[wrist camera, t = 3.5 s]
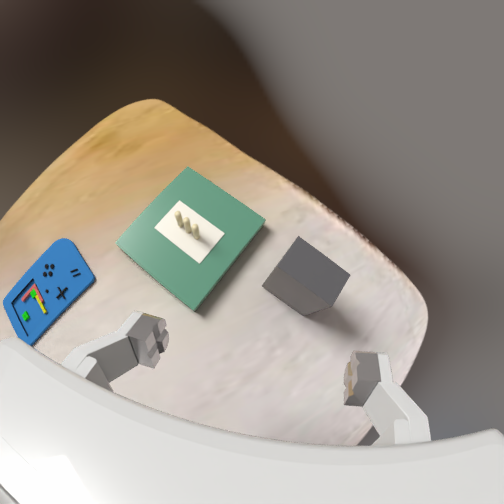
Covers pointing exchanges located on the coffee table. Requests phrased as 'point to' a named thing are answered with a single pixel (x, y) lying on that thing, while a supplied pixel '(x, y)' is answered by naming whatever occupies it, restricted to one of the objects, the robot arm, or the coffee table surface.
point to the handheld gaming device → (47, 290)
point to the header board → (190, 236)
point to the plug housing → (306, 279)
